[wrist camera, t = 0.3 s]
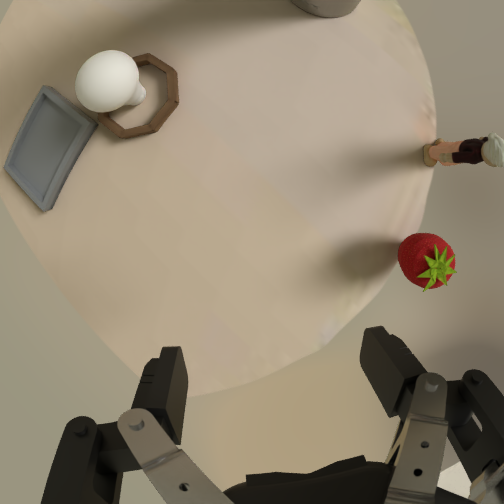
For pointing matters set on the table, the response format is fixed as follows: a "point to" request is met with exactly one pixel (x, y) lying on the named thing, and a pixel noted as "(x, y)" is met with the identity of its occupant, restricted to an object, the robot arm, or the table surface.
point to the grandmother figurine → (466, 151)
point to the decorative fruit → (426, 260)
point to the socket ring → (164, 111)
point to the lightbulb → (109, 82)
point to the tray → (48, 146)
